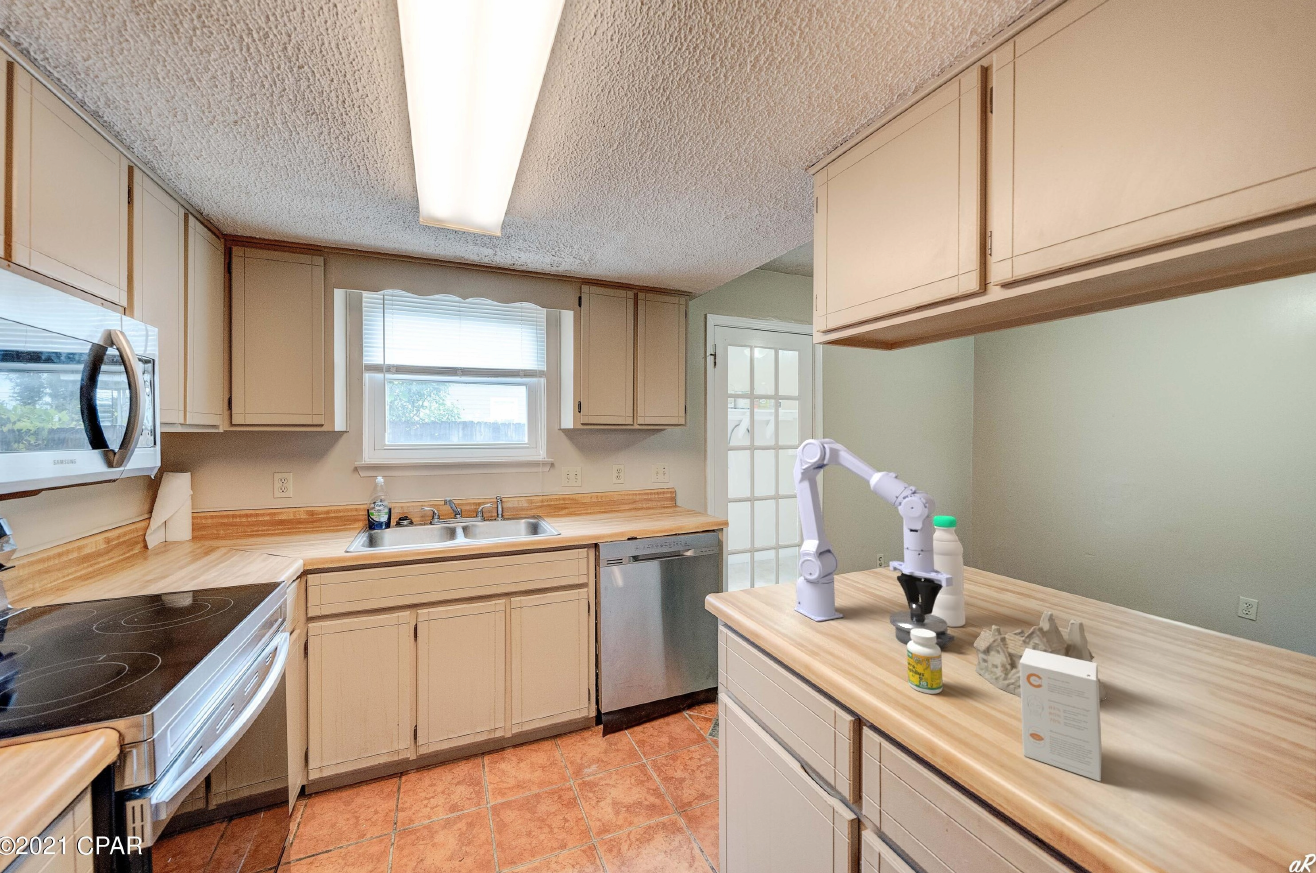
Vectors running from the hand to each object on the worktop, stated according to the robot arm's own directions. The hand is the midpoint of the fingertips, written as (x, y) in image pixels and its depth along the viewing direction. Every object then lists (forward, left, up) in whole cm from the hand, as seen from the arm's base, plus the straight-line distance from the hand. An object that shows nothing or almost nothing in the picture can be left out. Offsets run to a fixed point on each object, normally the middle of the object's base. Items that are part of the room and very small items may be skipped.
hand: (920, 611), depth 105 cm
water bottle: (-5, +14, -6) cm, 16 cm away
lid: (0, -1, -3) cm, 3 cm away
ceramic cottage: (+22, +3, -7) cm, 23 cm away
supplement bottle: (+15, -16, -6) cm, 23 cm away
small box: (+36, -15, -6) cm, 39 cm away
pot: (0, 0, -6) cm, 6 cm away
